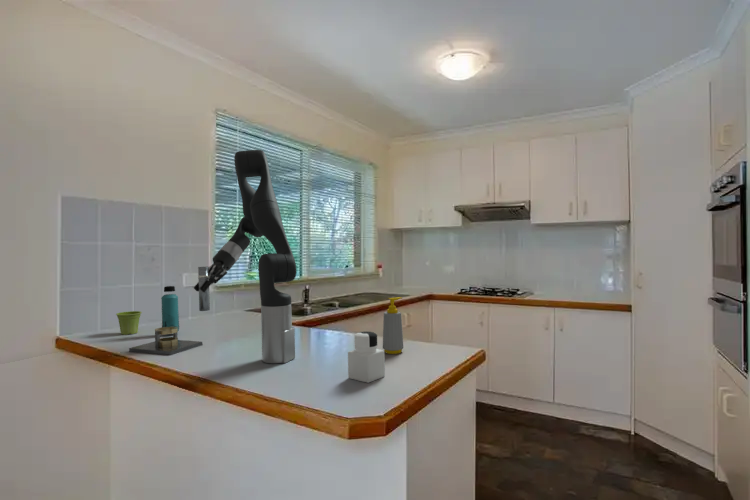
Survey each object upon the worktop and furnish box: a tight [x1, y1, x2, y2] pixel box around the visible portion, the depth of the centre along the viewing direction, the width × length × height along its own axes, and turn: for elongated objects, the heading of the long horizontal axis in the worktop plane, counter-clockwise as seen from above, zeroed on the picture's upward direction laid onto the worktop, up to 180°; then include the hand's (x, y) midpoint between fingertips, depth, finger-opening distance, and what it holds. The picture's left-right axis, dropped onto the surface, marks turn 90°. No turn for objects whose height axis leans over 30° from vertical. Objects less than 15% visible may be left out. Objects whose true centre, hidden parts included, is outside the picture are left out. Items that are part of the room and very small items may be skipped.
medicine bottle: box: [347, 331, 386, 384], centre depth 115 cm, size 7×7×12 cm
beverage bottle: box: [160, 285, 180, 332], centre depth 176 cm, size 6×7×20 cm
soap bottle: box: [382, 296, 404, 355], centre depth 141 cm, size 7×7×18 cm
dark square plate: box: [128, 326, 203, 356], centre depth 152 cm, size 18×15×7 cm
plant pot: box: [115, 310, 143, 336], centre depth 180 cm, size 9×9×9 cm
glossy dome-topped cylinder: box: [197, 266, 211, 312], centre depth 158 cm, size 4×4×16 cm
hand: (198, 290), depth 156 cm, fingers closed on glossy dome-topped cylinder, 3 cm apart
